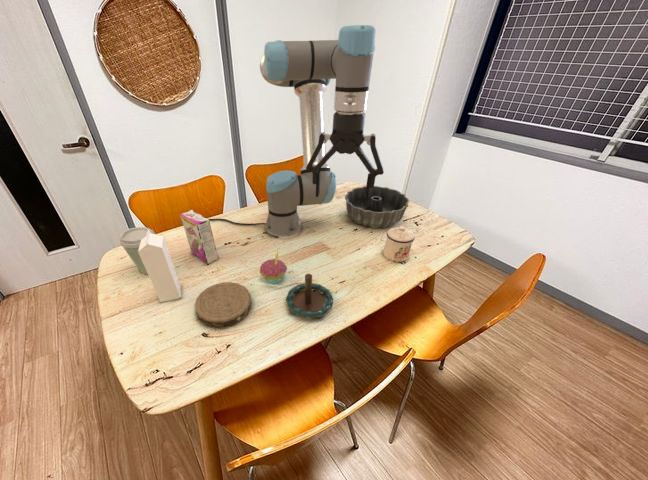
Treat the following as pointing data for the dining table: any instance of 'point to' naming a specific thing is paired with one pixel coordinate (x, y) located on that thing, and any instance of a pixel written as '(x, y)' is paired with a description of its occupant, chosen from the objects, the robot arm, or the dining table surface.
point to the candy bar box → (199, 236)
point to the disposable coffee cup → (134, 244)
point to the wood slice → (223, 305)
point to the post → (308, 298)
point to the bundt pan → (376, 206)
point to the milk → (159, 267)
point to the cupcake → (273, 270)
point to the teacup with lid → (398, 244)
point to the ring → (307, 313)
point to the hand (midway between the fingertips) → (341, 196)
